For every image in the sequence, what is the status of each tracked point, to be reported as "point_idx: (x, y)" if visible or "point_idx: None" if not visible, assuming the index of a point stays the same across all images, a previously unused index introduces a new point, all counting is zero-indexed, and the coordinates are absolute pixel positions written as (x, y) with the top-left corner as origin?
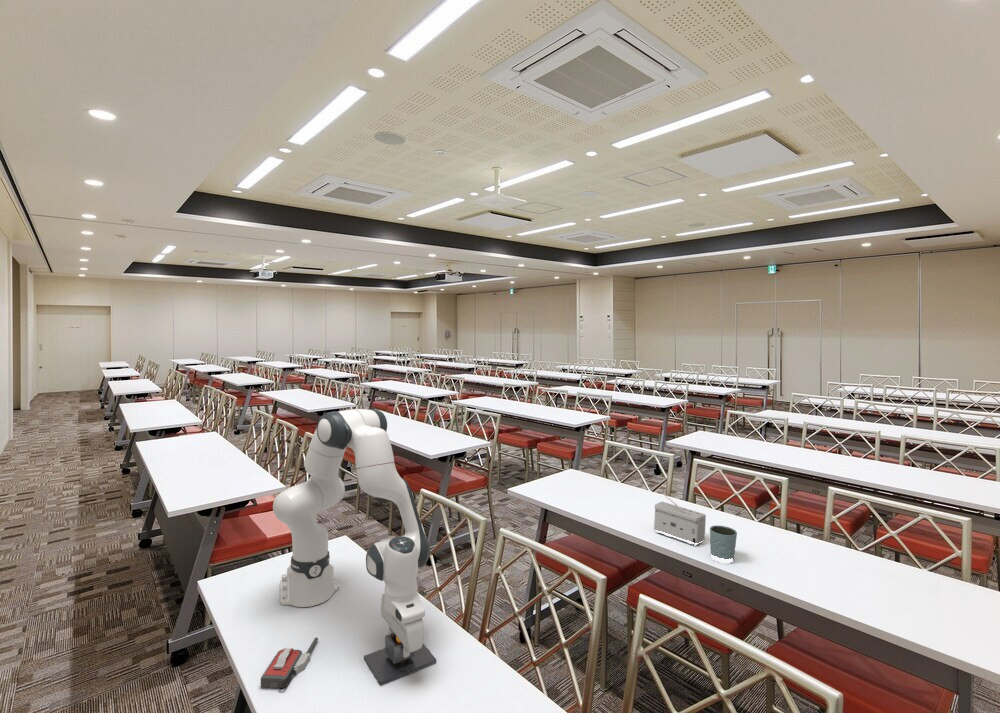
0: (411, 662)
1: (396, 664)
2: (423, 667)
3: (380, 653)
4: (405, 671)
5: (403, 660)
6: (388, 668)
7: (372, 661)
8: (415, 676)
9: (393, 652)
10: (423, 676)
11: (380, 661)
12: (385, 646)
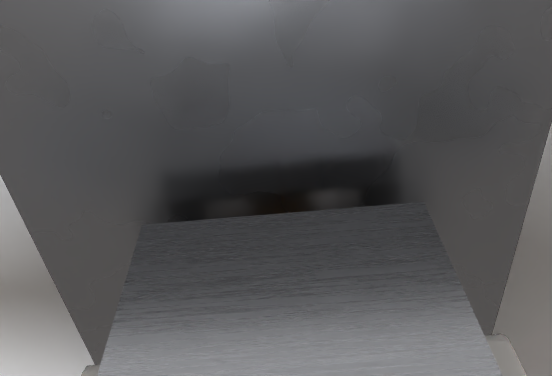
0: None
1: None
2: None
3: (475, 138)
4: (52, 269)
5: None
6: (161, 147)
7: (394, 4)
8: (29, 296)
9: (127, 343)
10: (14, 336)
11: (333, 100)
12: (438, 253)
